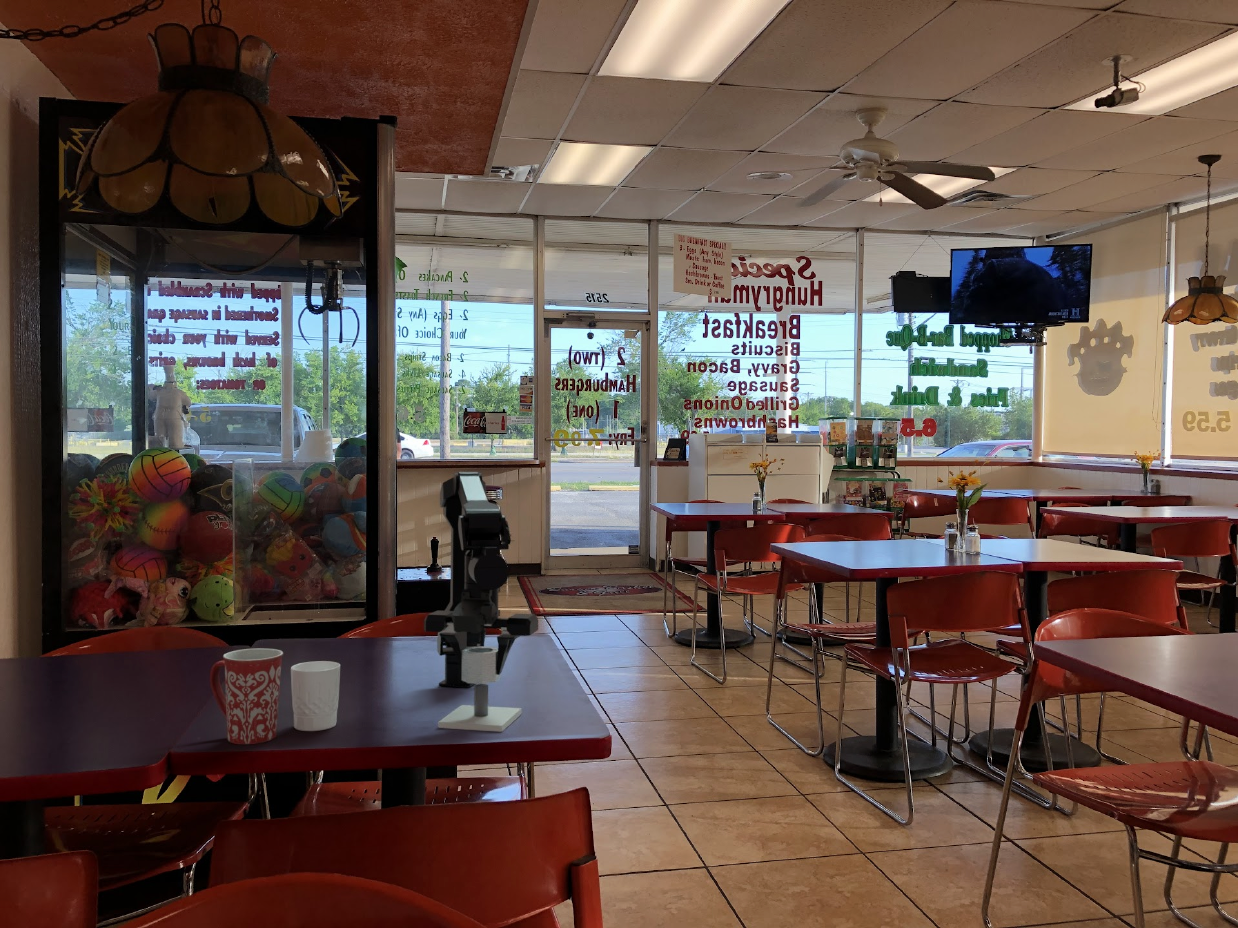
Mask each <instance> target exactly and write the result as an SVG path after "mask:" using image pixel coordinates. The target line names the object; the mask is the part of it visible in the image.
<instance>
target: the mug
mask: <svg viewBox="0 0 1238 928" xmlns="http://www.w3.org/2000/svg"><path fill="white" fill-rule="evenodd" d="M283 656H284V651H282V650H281V649H276V648H263V647H262V648H261V647H260V648H246V649H245V648H244V649H236V650H233V651H229V652H227V653H224V654H223V656H222V659H223V660H219V661H217V662H215V663H214V664H213V665H212V667H211V669H210V677H209V682H210V683H209V684H210V688H211V692H212V694H213V697H214V698H215V701H216V703H217V705H218V708H219V709H220V711H221V712H222V714H223V715H224V717H225V719H226V733H227V735H226V736H227V741H228V742H229V743H231V744H235V745H254V744H255V745H256V744H261V743H265V742H269V741H271V740H274V739H275V738H276V737H277V730H278V715H279V714H278V713H279V701H280V687H281V686H280V684H281V671H282V661H283V660H282V658H283ZM222 667H224V681H225V683H224V686H225V694H224V692H223V689H222V686H221V682H220V681H221V680H220V671H221V668H222Z"/></svg>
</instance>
